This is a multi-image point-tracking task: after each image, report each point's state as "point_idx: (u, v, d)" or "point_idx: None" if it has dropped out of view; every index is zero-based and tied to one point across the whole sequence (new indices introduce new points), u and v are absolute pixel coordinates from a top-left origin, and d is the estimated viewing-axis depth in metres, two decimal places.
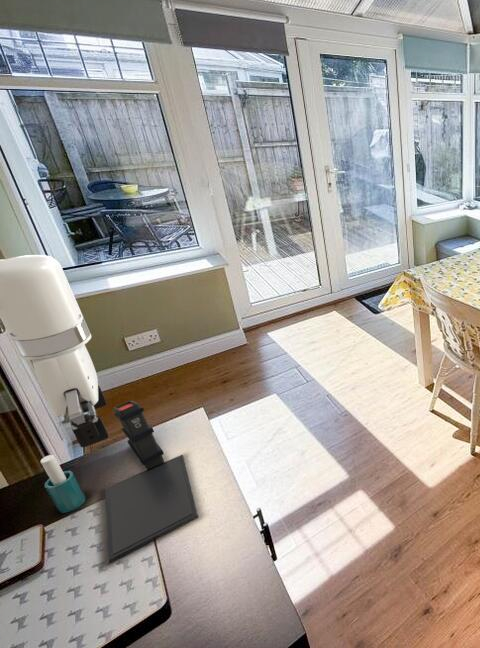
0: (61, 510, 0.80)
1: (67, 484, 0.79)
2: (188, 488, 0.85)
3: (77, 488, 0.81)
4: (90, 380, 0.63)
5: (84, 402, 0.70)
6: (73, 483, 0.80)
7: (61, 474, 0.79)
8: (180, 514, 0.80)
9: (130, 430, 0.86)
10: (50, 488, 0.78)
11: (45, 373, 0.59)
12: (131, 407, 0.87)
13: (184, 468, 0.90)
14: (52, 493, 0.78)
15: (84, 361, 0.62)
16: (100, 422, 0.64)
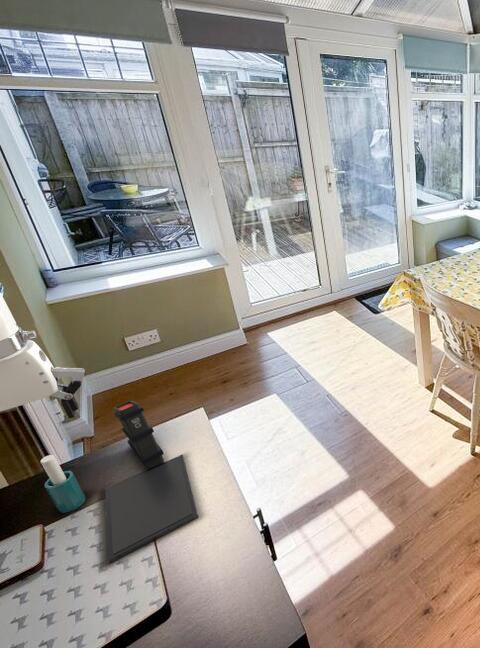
0: (61, 510, 0.80)
1: (67, 484, 0.79)
2: (188, 488, 0.85)
3: (77, 488, 0.81)
4: None
5: None
6: (73, 483, 0.80)
7: (61, 474, 0.79)
8: (180, 514, 0.80)
9: (130, 430, 0.86)
10: (50, 488, 0.78)
11: None
12: (131, 407, 0.87)
13: (184, 468, 0.90)
14: (52, 493, 0.78)
15: None
16: None
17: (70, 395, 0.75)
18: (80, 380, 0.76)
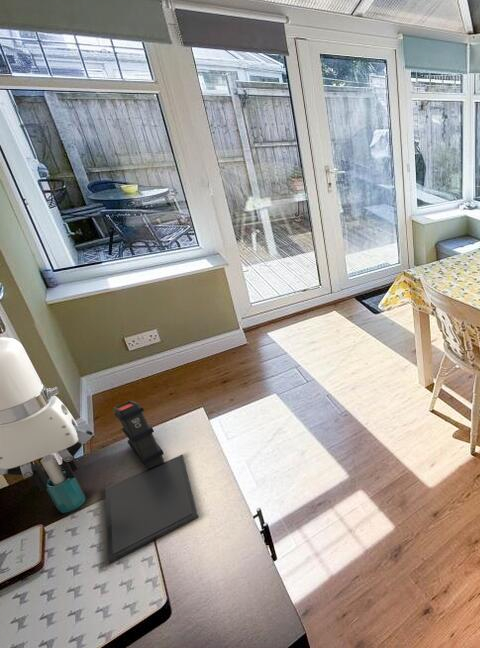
0: (61, 510, 0.80)
1: (67, 484, 0.79)
2: (188, 488, 0.85)
3: (77, 488, 0.81)
4: None
5: None
6: (73, 483, 0.80)
7: (61, 474, 0.79)
8: (180, 514, 0.80)
9: (130, 430, 0.86)
10: (50, 488, 0.78)
11: None
12: (131, 407, 0.87)
13: (184, 468, 0.90)
14: (52, 493, 0.78)
15: (0, 437, 0.70)
16: (34, 478, 0.76)
17: (70, 457, 0.79)
18: (82, 443, 0.80)
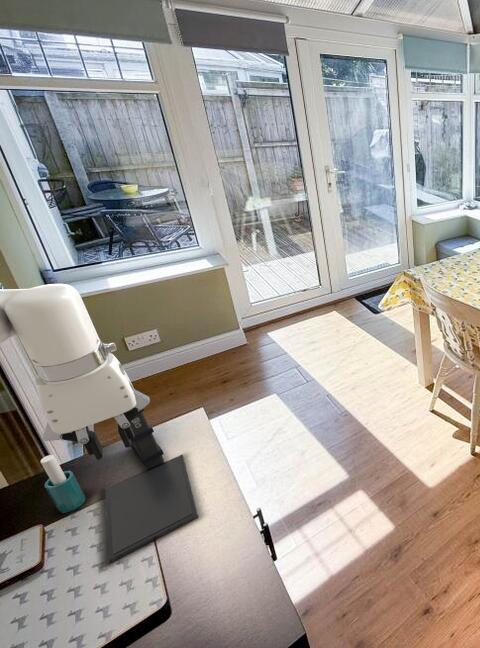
0: (61, 510, 0.80)
1: (67, 484, 0.79)
2: (188, 488, 0.85)
3: (77, 488, 0.81)
4: (54, 414, 0.63)
5: None
6: (73, 483, 0.80)
7: (61, 474, 0.79)
8: (180, 514, 0.80)
9: None
10: (50, 488, 0.78)
11: None
12: None
13: (184, 468, 0.90)
14: (52, 493, 0.78)
15: (55, 397, 0.62)
16: (90, 445, 0.68)
17: (127, 423, 0.71)
18: (139, 409, 0.72)
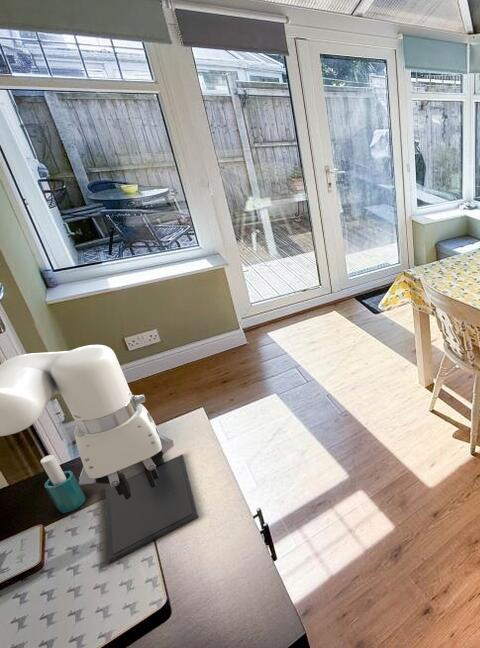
0: (61, 510, 0.80)
1: (67, 484, 0.79)
2: (188, 488, 0.85)
3: (77, 488, 0.81)
4: (90, 462, 0.70)
5: None
6: (73, 483, 0.80)
7: (61, 474, 0.79)
8: (180, 514, 0.80)
9: None
10: (50, 488, 0.78)
11: None
12: None
13: (184, 468, 0.90)
14: (52, 493, 0.78)
15: (92, 446, 0.69)
16: (120, 487, 0.75)
17: (153, 466, 0.77)
18: (164, 452, 0.78)
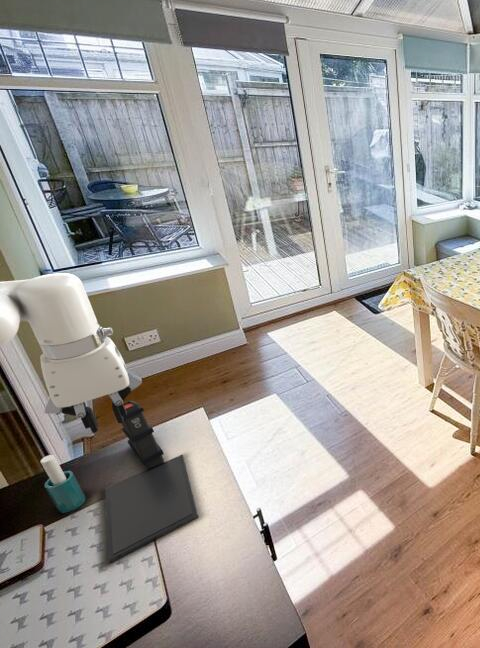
0: (61, 510, 0.80)
1: (67, 484, 0.79)
2: (188, 488, 0.85)
3: (77, 488, 0.81)
4: (56, 389, 0.71)
5: None
6: (73, 483, 0.80)
7: (61, 474, 0.79)
8: (180, 514, 0.80)
9: (130, 430, 0.86)
10: (50, 488, 0.78)
11: None
12: (131, 407, 0.87)
13: (184, 468, 0.90)
14: (52, 493, 0.78)
15: (57, 373, 0.70)
16: (86, 419, 0.76)
17: (121, 401, 0.78)
18: (132, 388, 0.80)
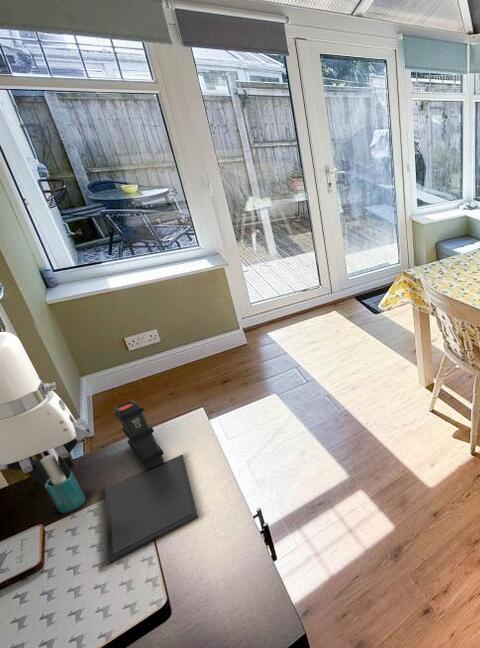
0: (61, 510, 0.80)
1: (67, 484, 0.79)
2: (188, 488, 0.85)
3: (77, 488, 0.81)
4: None
5: None
6: (73, 483, 0.80)
7: (61, 474, 0.79)
8: (180, 514, 0.80)
9: (130, 430, 0.86)
10: (50, 488, 0.78)
11: None
12: (131, 407, 0.87)
13: (184, 468, 0.90)
14: (52, 493, 0.78)
15: None
16: (34, 473, 0.76)
17: (66, 454, 0.78)
18: (78, 440, 0.79)
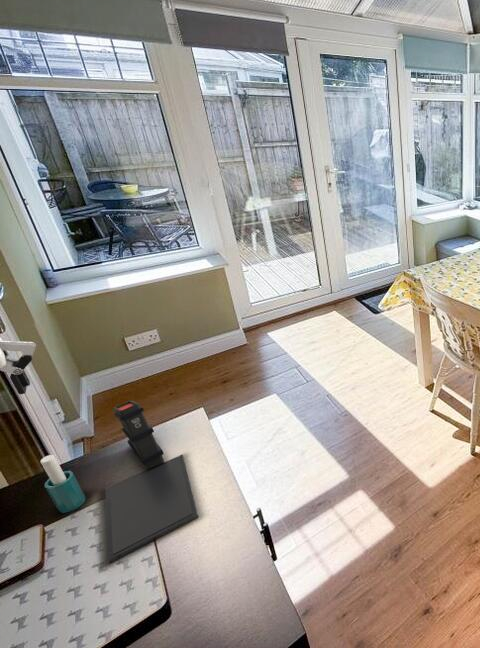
0: (61, 510, 0.80)
1: (67, 484, 0.79)
2: (188, 488, 0.85)
3: (77, 488, 0.81)
4: None
5: None
6: (73, 483, 0.80)
7: (61, 474, 0.79)
8: (180, 514, 0.80)
9: (130, 430, 0.86)
10: (50, 488, 0.78)
11: None
12: (131, 407, 0.87)
13: (184, 468, 0.90)
14: (52, 493, 0.78)
15: None
16: None
17: (20, 370, 0.72)
18: (31, 354, 0.73)
